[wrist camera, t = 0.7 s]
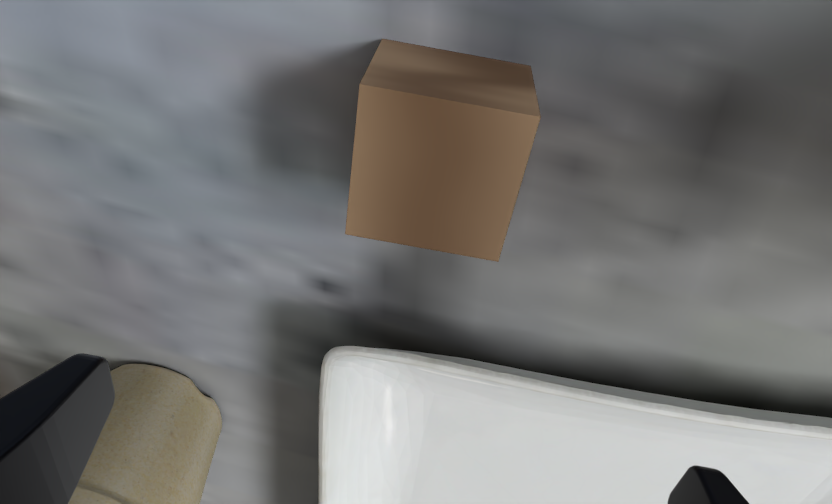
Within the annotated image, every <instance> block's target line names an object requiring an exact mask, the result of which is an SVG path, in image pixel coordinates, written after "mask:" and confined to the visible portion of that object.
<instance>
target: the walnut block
mask: <svg viewBox="0 0 832 504" xmlns="http://www.w3.org/2000/svg"><path fill="white" fill-rule="evenodd" d="M540 118H541V116H540V111H539V106H538V101H537V96H536V91H535V85H534V80H533V75H532V70H531V66H528V65H523V64H517V63H512V62H506V61H501V60H496V59H490V58H485V57H479V56H474V55H468V54H463V53H457V52H452V51H447V50H441V49H436V48H430V47H425V46H419V45H414V44H409V43H403V42H398V41H392V40H387V39H382V40H381V42H380V44H379V46H378V48H377V50H376V52H375V54H374V56H373V58H372V60H371V62H370V64H369V66H368V68H367V70H366V72H365V74H364V76H363V78H362V80H361V82H360V85H359V95H358V106H357V116H356V126H355V137H354V147H353V158H352V168H351V178H350V189H349V199H348V210H347V220H346V231H345V234H347V235H352V236H358V237H364V238H369V239H375V240H380V241H386V242H392V243H397V244H403V245H408V246H414V247H419V248H425V249H431V250H436V251H442V252H447V253H453V254H458V255H464V256H470V257H475V258H481V259H486V260H492V261H497V262H498V261H499V257H500V254H501V250H502V247H503V244H504V240H505V237H506V233H507V230H508V227H509V223H510V220H511V216H512V213H513V210H514V206H515V203H516V199H517V196H518V193H519V189H520V186H521V182H522V179H523V176H524V172H525V169H526V165H527V162H528V159H529V155H530V152H531V148H532V145H533V142H534V138H535V135H536V131H537V128H538V125H539V121H540Z"/></svg>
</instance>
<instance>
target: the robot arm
mask: <svg viewBox="0 0 832 504" xmlns="http://www.w3.org/2000/svg"><path fill="white" fill-rule="evenodd" d="M114 399H115V390H114V386H113V381H112V377H111V373H110V368H109V364H108V361H107V360H106V359H105V358H103V357H99V356H94V355H88V354H76V355H73V356H71V357H69V358H68V359H66V360H64V361H63V362H61V363H59V364H58V365H56V366H54V367H53V368H51V369H49V370H48V371H46V372H44V373H43V374H41V375H39V376H38V377H36V378H34V379H33V380H31V381H29V382H28V383H26V384H24V385H23V386H21V387H19V388H17V389H16V390H14V391H12V392H11V393H9V394H7V395H6V396H4V397H2V398H1V399H0V504H68V503H69V501H70V499H71V497H72V495H73V493H74V491H75V489H76V487H77V484H78V482H79V480H80V478H81V476H82V473H83V471H84V469H85V467H86V465H87V462H88V460H89V458H90V456H91V454H92V451H93V449H94V447H95V445H96V443H97V440H98V438H99V436H100V434H101V432H102V429H103V427H104V425H105V423H106V420H107V418H108V416H109V414H110V412H111V409H112V407H113V404H114ZM668 504H749V503H748V501H747V500H746V499H745V498H744V497H743V496H742V494H741V493H740V492H739V491H738V490H737V488H736V487H735V486H734V485H733V484H732V482H731V481H730V480H729V479H728V478H727V477H726V476H725V474H723V473H722V472H721V471H719V470H717V469H714V468H708V467H703V466H697V465H694V466H691V467H689V468H688V470H687V471H686V472H685V474H684V475H683V476H682V478H681V479H680V480H679V482H678V483H677V485H676V486H675V487H674V489H673V490H672V491H671V493H670V495H669V498H668Z"/></svg>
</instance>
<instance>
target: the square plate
mask: <svg viewBox="0 0 832 504" xmlns="http://www.w3.org/2000/svg"><path fill="white" fill-rule="evenodd" d="M694 465H697V466H703V467H708V468H714V469H717V470H719V471H721V472H722V473H723V474H725V476H726V477H727V478H728V479H729V480H730V481H731V482H732V484H733V485H734V486H735V487H736V488H737V490H738V491H739V492H740V493H741V494H742V496H743V497H744V498H745V499H746V500H747V501H748V503H749V504H832V418H829V417H820V416H812V415H803V414H794V413H785V412H776V411H768V410H759V409H751V408H744V407H737V406H730V405H723V404H716V403H709V402H702V401H696V400H690V399H684V398H678V397H672V396H666V395H660V394H654V393H648V392H642V391H636V390H630V389H625V388H619V387H613V386H607V385H601V384H596V383H590V382H585V381H579V380H574V379H569V378H564V377H558V376H553V375H548V374H543V373H537V372H532V371H527V370H522V369H517V368H512V367H507V366H502V365H497V364H491V363H486V362H481V361H477V360H472V359H466V358H460V357H453V356H445V355H438V354H430V353H423V352H416V351H406V350H396V349H387V348H368V347H358V346H339V347H335V348H332V349H331V350H330V351H328V352H327V353H326V354H325V356H324V359H323V362H322V366H321V375H320V389H319V426H318V484H319V491H318V504H668V498H669V495H670V493H671V491H672V490H673V489H674V487H675V486H676V485H677V483H678V482H679V480H680V479H681V478H682V476H683V475H684V474H685V472H686V471H687V470H688V468H689V467H691V466H694Z"/></svg>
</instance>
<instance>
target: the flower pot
mask: <svg viewBox="0 0 832 504" xmlns="http://www.w3.org/2000/svg"><path fill="white" fill-rule="evenodd" d="M110 373H111V377H112V381H113V386H114V390H115V399H114V404H113V407H112V409H111V412H110V414H109V416H108V418H107V420H106V423H105V425H104V427H103V429H102V432H101V434H100V436H99V438H98V440H97V443H96V445H95V447H94V449H93V451H92V454H91V456H90V458H89V460H88V462H87V465H86V467H85V469H84V471H83V473H82V476H81V478H80V480H79V482H78V484H77V487H76V489H75V491H74V493H73V495H72V497H71V499H70V501H69V503H68V504H200V500H201V496H202V493H203V489H204V486H205V482H206V479H207V475H208V471H209V468H210V465H211V461H212V458H213V455H214V452H215V448H216V444H217V441H218V438H219V435H220V432H221V429H222V418H221V414H220V411H219V408H218V406H217V404H216V403H215V401H214V400H213V399H212V398H209V397H206V396H204V395H203V394H202V393H201V392H200V391H199V390H198V389H197V387H196V386H195V385H194V383H193V382H192V380H191V379H189V378H187V377H186V376H184V375H182V374H179V373H177V372H174V371H172V370H169V369H166V368H162V367H158V366H153V365H147V364H125V365H122V366H120V367H118V368H116V369H114V370H112V371H110Z"/></svg>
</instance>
